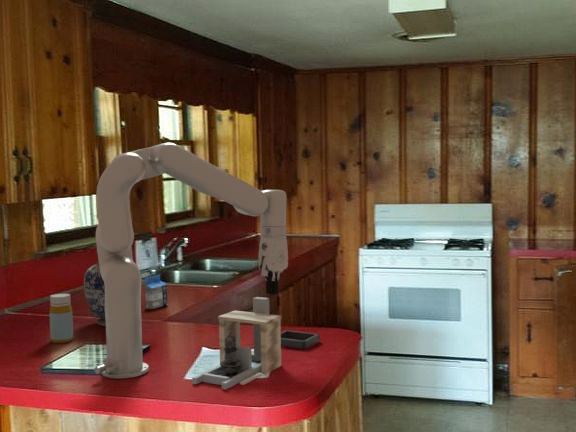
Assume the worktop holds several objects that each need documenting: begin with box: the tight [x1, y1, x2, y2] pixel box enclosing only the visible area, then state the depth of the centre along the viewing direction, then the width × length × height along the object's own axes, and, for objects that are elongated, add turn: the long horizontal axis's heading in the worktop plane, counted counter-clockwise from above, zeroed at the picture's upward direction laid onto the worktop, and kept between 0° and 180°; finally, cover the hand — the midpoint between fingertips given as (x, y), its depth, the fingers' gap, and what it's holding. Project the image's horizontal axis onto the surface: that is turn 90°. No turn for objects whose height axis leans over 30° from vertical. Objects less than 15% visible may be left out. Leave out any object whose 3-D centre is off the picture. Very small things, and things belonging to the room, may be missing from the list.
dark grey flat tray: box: [281, 329, 321, 350], centre depth 214 cm, size 10×12×2 cm
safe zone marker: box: [239, 372, 263, 386], centre depth 183 cm, size 9×14×1 cm, turn 61°
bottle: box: [48, 293, 74, 344], centre depth 222 cm, size 7×7×15 cm
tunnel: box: [217, 310, 282, 375], centre depth 191 cm, size 8×16×14 cm, turn 61°
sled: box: [191, 296, 270, 390], centre depth 185 cm, size 28×10×18 cm, turn 151°
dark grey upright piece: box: [219, 332, 242, 378], centre depth 182 cm, size 6×6×12 cm
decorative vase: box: [83, 249, 106, 327], centre depth 245 cm, size 21×19×28 cm
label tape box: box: [144, 274, 169, 310], centre depth 271 cm, size 9×4×12 cm, turn 148°
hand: (272, 293), depth 202 cm, fingers closed
